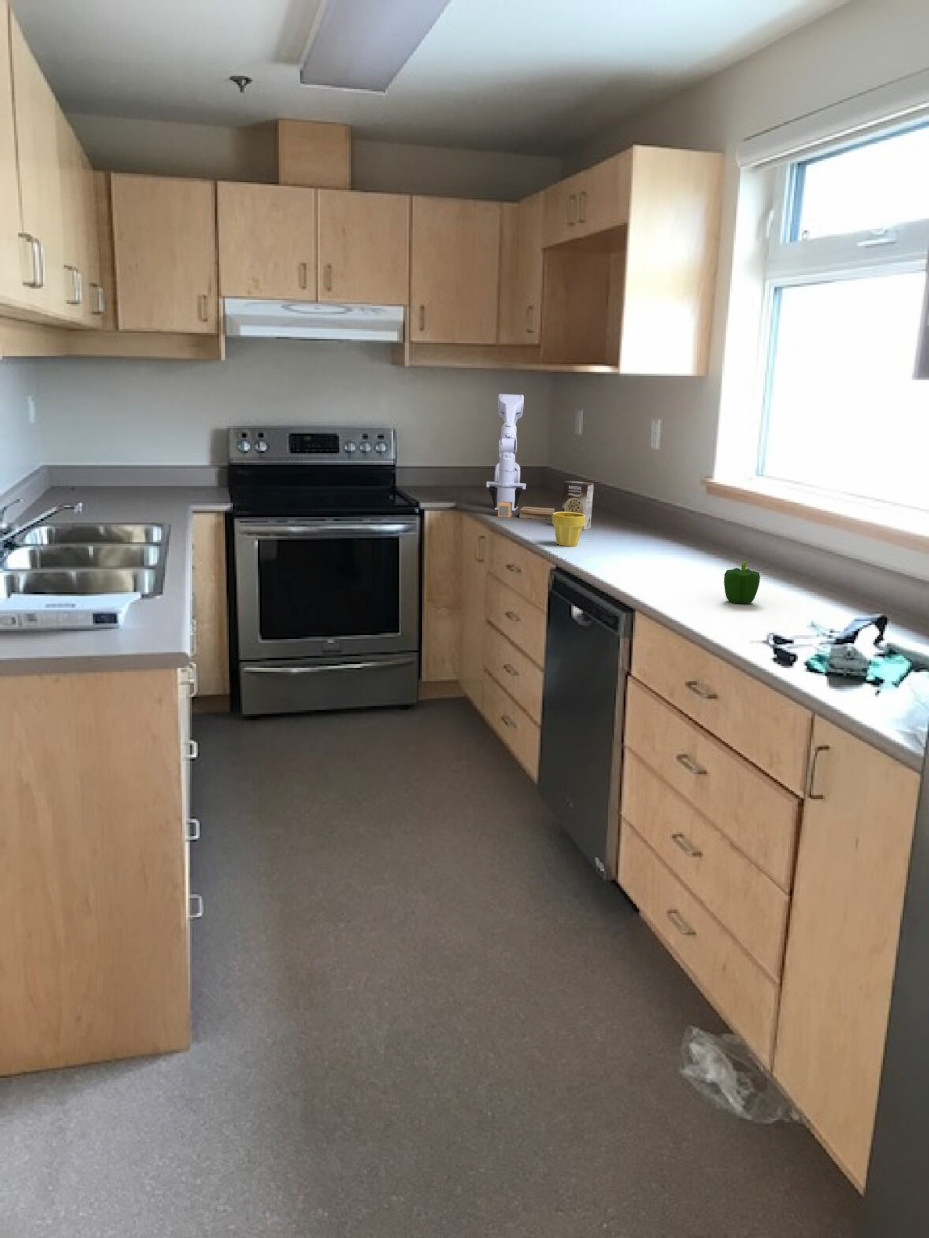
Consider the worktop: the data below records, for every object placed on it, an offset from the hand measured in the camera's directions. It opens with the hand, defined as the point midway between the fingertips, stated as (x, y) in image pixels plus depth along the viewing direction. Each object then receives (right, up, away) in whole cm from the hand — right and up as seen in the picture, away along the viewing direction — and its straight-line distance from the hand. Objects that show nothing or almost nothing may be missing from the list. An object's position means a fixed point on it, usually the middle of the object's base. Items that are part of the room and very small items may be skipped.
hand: (505, 507), depth 373 cm
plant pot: (+17, -18, -56) cm, 62 cm away
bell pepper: (+52, -38, -128) cm, 144 cm away
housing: (0, -3, +1) cm, 3 cm away
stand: (+12, -4, 0) cm, 12 cm away
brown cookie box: (+24, -10, -22) cm, 34 cm away
